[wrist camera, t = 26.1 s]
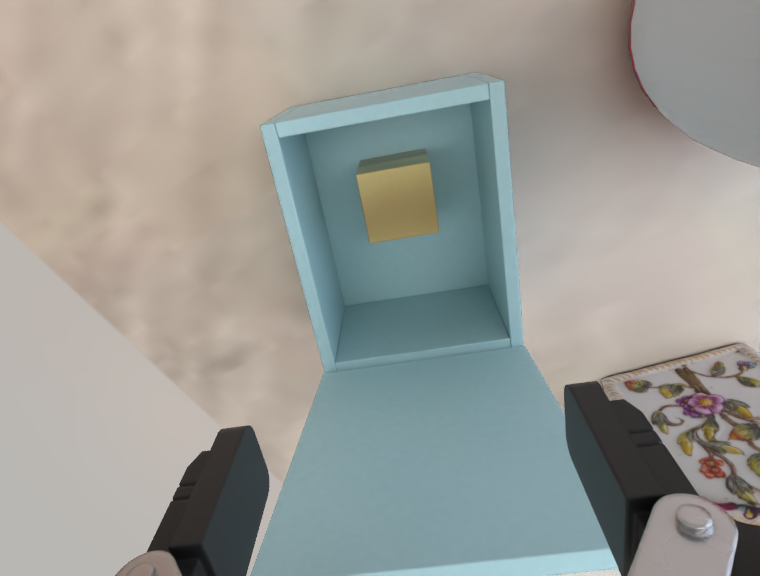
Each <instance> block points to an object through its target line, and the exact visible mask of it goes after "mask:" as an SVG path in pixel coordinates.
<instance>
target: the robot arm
mask: <svg viewBox="0 0 760 576" xmlns="http://www.w3.org/2000/svg"><path fill="white" fill-rule="evenodd" d="M564 402H565V431H566V441H567V446H568V450H569V453H570V457H571V459H572V462H573V464H574V466H575V469H576V471H577V473H578V476H579V478H580V480H581V483H582V485H583V487H584V490H585V492H586V494H587V497H588V499H589V501H590V504H591V506H592V508H593V511H594V513H595V515H596V517H597V520H598V522H599V524H600V527H601V529H602V531H603V534H604V536H605V538H606V541H607V543H608V545H609V548H610V550H611V552H612V555H613V557H614V559H615V562H616V564H617V566H618V568H619V571H620V573H621V575H622V576H760V526H758V525H752V524H747V523H743V522H740V521H736V520H734V519H732V517H731V516H730V515H729V514H728V513H727V512H726V511H725V510H724V509H723V508H722V507H720V506H719V505H717V504H716V503H714V502H712V501H710V500H708V499H706V498H703V497H700V496H699V495H698V493H697V492H696V490H695V489H694V487H693V486H692V484H691V483H690V481H689V480H688V478H687V477H686V476H685V474H684V473H683V471H682V470H681V468H680V467H679V465H678V464H677V462H676V461H675V459H674V458H673V456H672V455H671V453H670V452H669V450H668V449H667V448H666V446H665V445H664V444H663V443H662V440H661V439H660V437H659V436H658V434H657V433H656V431H654V430H653V427H652V425H651V424H650V422H649V421H648V420H647V418H646V417H645V415H644V414H643V412H642V411H640V410H639V409H638V408H636V407H635V406H633V405H632V404H630V403H629V402H627V401H626V400H625V399H620V400H612V401H609V399H608V397H607V396H606V394H605V392H604V391H603V389H602V387H601V386H600V384H599V383H598V382H597V381H592V382H585V383H577V384H569V385H565V388H564ZM179 485H180V487H178V488H177V490H176V492H175V495H174V496H173V501H171V503H170V505H169V507H168V509H167V511H166V513H165V515H164V518H163V519H162V521H161V523H160V526H159V528H158V530H157V532H156V534H155V536H154V538H153V540H152V542H151V544H150V547H149V549H148V551H147V553H144V554H142V555H140V556H138V557H136V558H134V559H133V560H131V561H130V562H128V563H127V564H126V565H125V566H124V567H123V568H122V569H121V570H120V571H119V572H118V573H117V574H116V575H115V576H246V574H247V570H248V566H249V563H250V559H251V555H252V552H253V548H254V544H255V541H256V537H257V533H258V530H259V526H260V522H261V519H262V515H263V511H264V508H265V504H266V500H267V497H268V492H269V474H268V469H267V466H266V463H265V461H264V458H263V455H262V452H261V449H260V446H259V444H258V441H257V438H256V435H255V432H254V430H253V428H252V427H251V426H241V427H233V428H226V429H221V430H220V431H219V432H218V434H217V437H216V439H215V441H214V443H213V446H212V448H211V450H210V451H203V452H201V453H200V454H199V455H198V457H197V458H196V459H195V460H194V461H193V462H192V463H191V464H190V465H189V466H188V467H187V469H186V472H185V474H184V476H183V478H182V480H181V482H180V484H179Z"/></svg>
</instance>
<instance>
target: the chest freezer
mask: <svg viewBox="0 0 760 576" xmlns="http://www.w3.org/2000/svg"><path fill="white" fill-rule="evenodd" d="M260 129H261V133H262V137H263V140H264V144H265V148H266V152H267V156H268V159H269V163H270V167H271V171H272V175H273V178H274V182H275V186H276V190H277V194H278V197H279V201H280V205H281V209H282V213H283V216H284V220H285V224H286V228H287V232H288V235H289V239H290V243H291V247H292V250H293V254H294V258H295V262H296V266H297V269H298V273H299V277H300V281H301V285H302V288H303V292H304V296H305V300H306V304H307V307H308V311H309V315H310V319H311V323H312V326H313V330H314V334H315V338H316V342H317V345H318V349H319V353H320V357H321V361H322V364H323V368H324V372H325V374H326V373H333V372H341V371H348V370H355V369H362V368H370V367H377V366H384V365H391V364H398V363H406V362H413V361H420V360H427V359H435V358H442V357H449V356H456V355H463V354H471V353H478V352H485V351H492V350H500V349H507V348H514V347H521V346H524V342H523V328H522V314H521V300H520V287H519V273H518V259H517V245H516V232H515V218H514V204H513V190H512V177H511V163H510V149H509V136H508V122H507V108H506V94H505V82H504V80H500V79H497V78H494V77H491V76H488V75H485V74H481V73H479V72H475V73H470V74H464V75H459V76H454V77H448V78H443V79H438V80H432V81H427V82H422V83H416V84H411V85H406V86H400V87H395V88H390V89H384V90H379V91H374V92H368V93H363V94H358V95H352V96H347V97H342V98H336V99H331V100H326V101H320V102H315V103H310V104H305V105H299V106H294V107H290V108H288V109H287V110H285V111H283V112H282V113H280V114H278V115H277V116H275V117H273V118H272V119H270V120H268V121H267V122H265V123H264V124H262V125H260ZM419 149H426V152H427V155H428V158H429V161H430V166H431V174H432V181H433V188H434V195H435V202H436V209H437V216H438V223H439V230H440V231H439V232H438V233H432V234H426V235H420V236H414V237H408V238H402V239H396V240H390V241H384V242H378V243H372V244H370V243H369V238H368V233H367V228H366V223H365V218H364V213H363V208H362V203H361V198H360V193H359V188H358V183H357V178H356V174H357V170H358V166H359V163H360V160H363V159H369V158H375V157H380V156H386V155H391V154H397V153H402V152H408V151H413V150H419Z"/></svg>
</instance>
